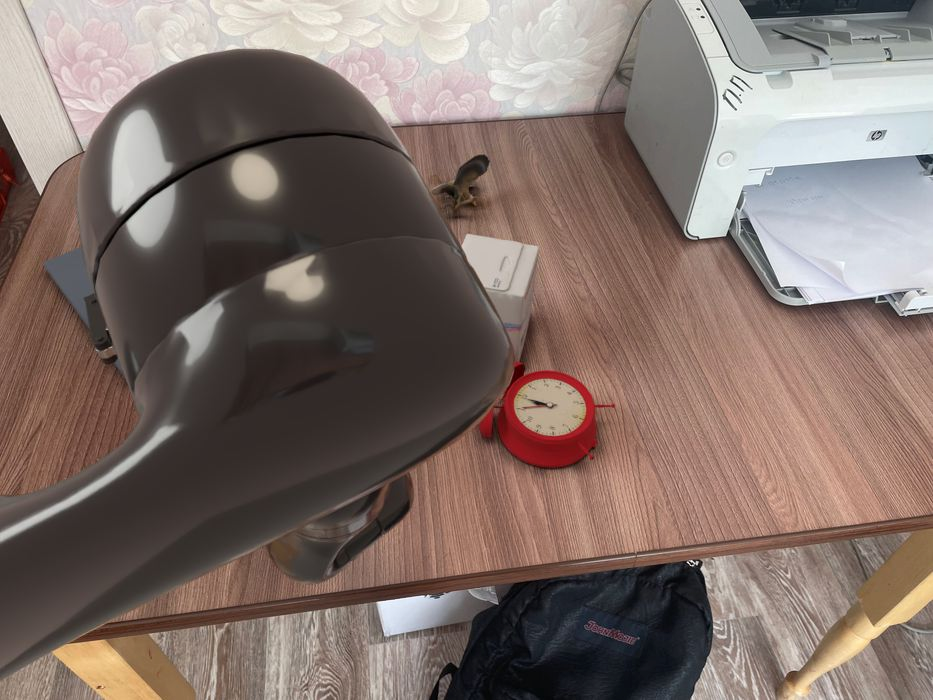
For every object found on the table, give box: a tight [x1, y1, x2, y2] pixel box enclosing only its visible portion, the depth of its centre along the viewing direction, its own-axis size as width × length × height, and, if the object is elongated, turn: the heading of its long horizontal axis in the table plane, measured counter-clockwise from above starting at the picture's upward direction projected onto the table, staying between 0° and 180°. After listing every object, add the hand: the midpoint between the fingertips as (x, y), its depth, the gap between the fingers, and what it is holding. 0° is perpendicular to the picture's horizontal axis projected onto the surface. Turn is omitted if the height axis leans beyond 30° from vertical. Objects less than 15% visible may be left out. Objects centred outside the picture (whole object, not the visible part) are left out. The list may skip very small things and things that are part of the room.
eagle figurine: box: [431, 153, 491, 218], centre depth 99 cm, size 8×7×9 cm
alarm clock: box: [478, 361, 616, 469], centre depth 74 cm, size 10×6×15 cm
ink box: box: [461, 233, 540, 362], centre depth 79 cm, size 9×9×12 cm
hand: (128, 257), depth 64 cm, fingers closed on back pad, 4 cm apart
